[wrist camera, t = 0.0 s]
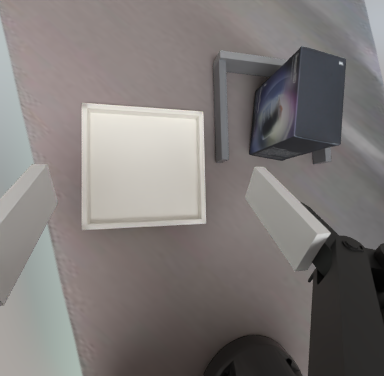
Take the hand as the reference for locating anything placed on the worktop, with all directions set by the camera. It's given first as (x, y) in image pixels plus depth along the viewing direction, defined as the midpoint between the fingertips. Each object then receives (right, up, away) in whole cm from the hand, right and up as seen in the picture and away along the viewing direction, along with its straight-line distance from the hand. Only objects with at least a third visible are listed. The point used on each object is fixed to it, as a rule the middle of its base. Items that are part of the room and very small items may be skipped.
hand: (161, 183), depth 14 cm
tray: (-4, +2, +15) cm, 16 cm away
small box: (+14, +10, +20) cm, 26 cm away
